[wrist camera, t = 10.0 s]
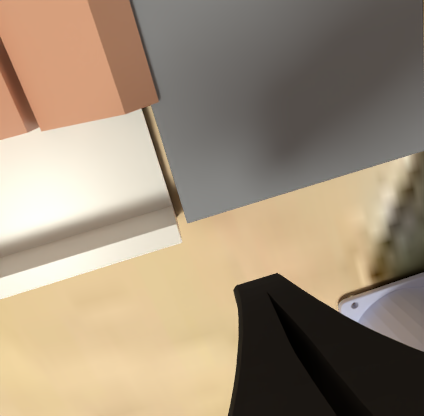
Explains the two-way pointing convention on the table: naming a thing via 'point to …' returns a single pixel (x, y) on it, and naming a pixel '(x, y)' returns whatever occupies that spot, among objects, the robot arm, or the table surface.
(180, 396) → the table surface
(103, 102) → the tile
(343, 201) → the table surface
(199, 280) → the table surface
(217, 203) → the grey flat block
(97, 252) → the tray
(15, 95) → the tile
